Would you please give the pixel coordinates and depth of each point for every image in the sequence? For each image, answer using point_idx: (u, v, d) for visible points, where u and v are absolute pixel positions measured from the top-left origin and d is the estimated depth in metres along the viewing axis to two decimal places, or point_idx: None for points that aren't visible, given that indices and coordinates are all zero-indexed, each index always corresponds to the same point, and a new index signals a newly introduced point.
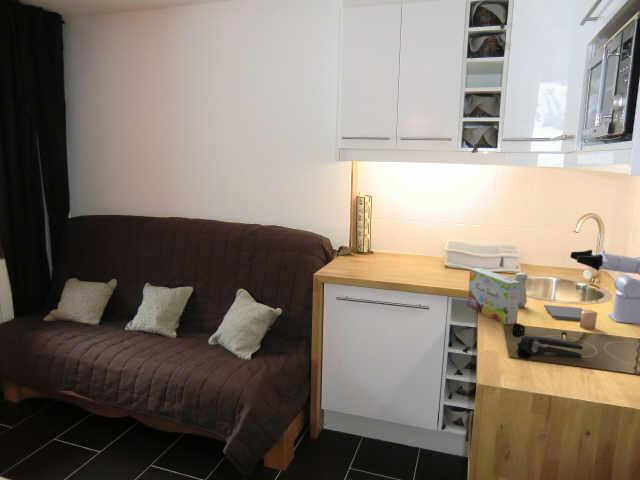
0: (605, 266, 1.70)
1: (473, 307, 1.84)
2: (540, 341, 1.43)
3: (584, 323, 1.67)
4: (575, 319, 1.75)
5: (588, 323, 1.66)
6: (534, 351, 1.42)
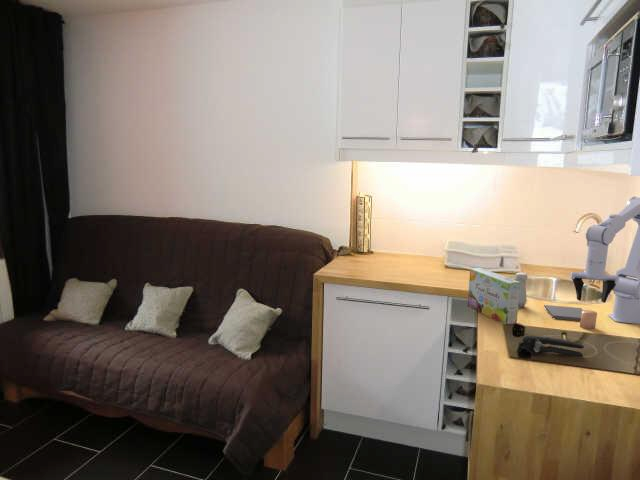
0: None
1: (473, 307, 1.84)
2: (542, 341, 1.43)
3: (584, 323, 1.67)
4: (575, 319, 1.75)
5: (588, 323, 1.66)
6: (536, 351, 1.42)
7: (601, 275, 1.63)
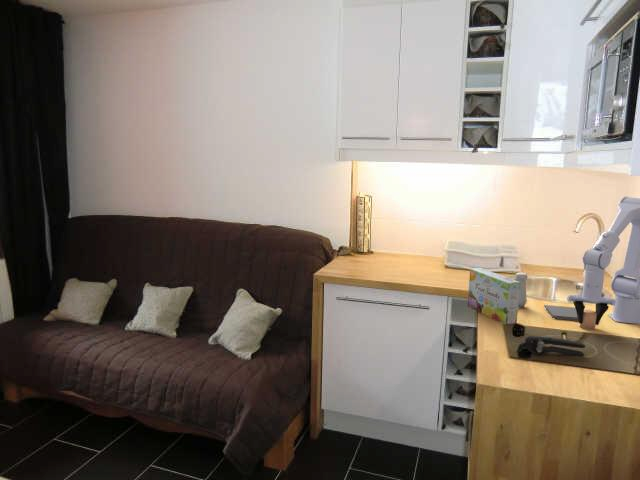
0: None
1: (473, 307, 1.84)
2: (544, 341, 1.43)
3: (584, 323, 1.67)
4: (575, 319, 1.75)
5: (588, 323, 1.66)
6: (539, 351, 1.42)
7: (598, 298, 1.64)
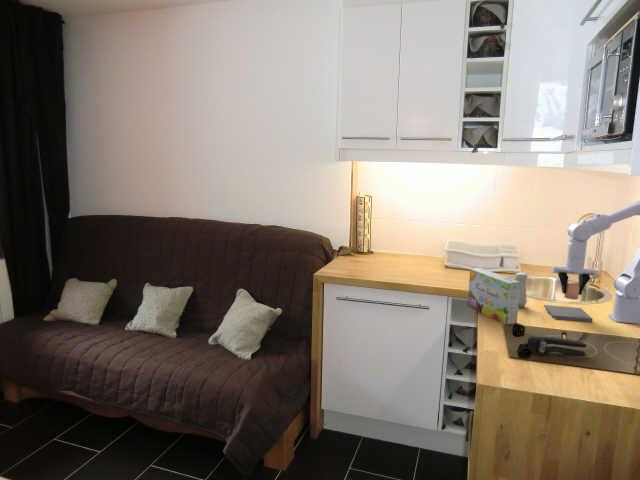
0: None
1: (473, 307, 1.84)
2: (547, 341, 1.43)
3: (568, 293, 1.78)
4: (575, 319, 1.75)
5: (572, 293, 1.77)
6: (541, 351, 1.42)
7: (580, 269, 1.75)
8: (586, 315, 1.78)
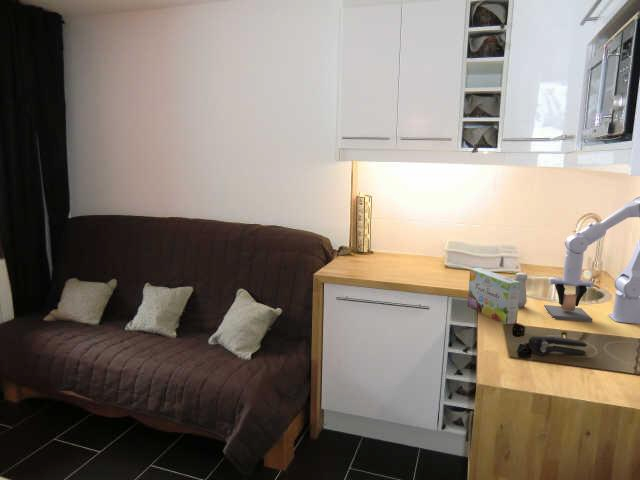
0: None
1: (473, 307, 1.84)
2: (548, 341, 1.43)
3: (565, 305, 1.80)
4: (575, 319, 1.75)
5: (569, 304, 1.79)
6: (543, 351, 1.42)
7: (577, 281, 1.77)
8: (586, 315, 1.78)
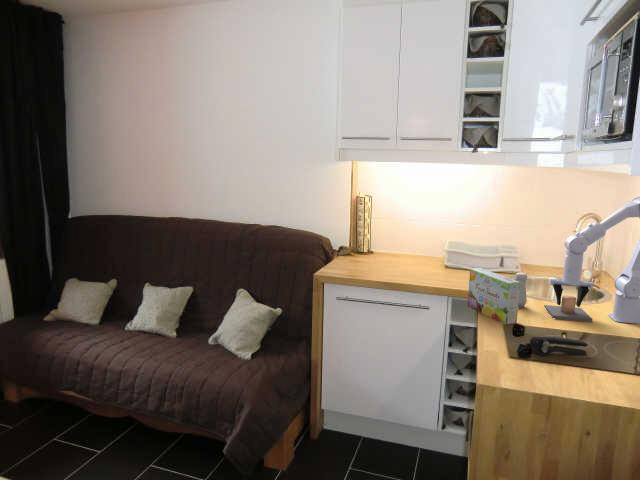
0: None
1: (473, 307, 1.84)
2: (549, 341, 1.43)
3: (565, 307, 1.80)
4: (575, 319, 1.75)
5: (568, 307, 1.79)
6: (544, 351, 1.42)
7: (577, 282, 1.77)
8: (586, 315, 1.78)
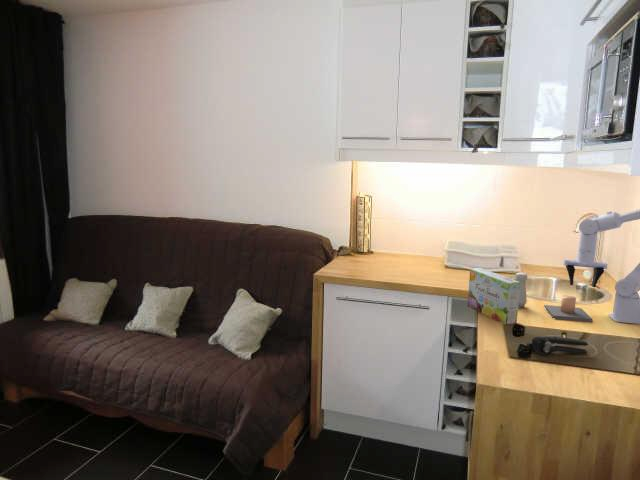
0: None
1: (473, 307, 1.84)
2: (551, 341, 1.43)
3: (565, 307, 1.80)
4: (575, 319, 1.75)
5: (568, 307, 1.79)
6: (546, 351, 1.42)
7: (590, 262, 1.83)
8: (586, 315, 1.78)
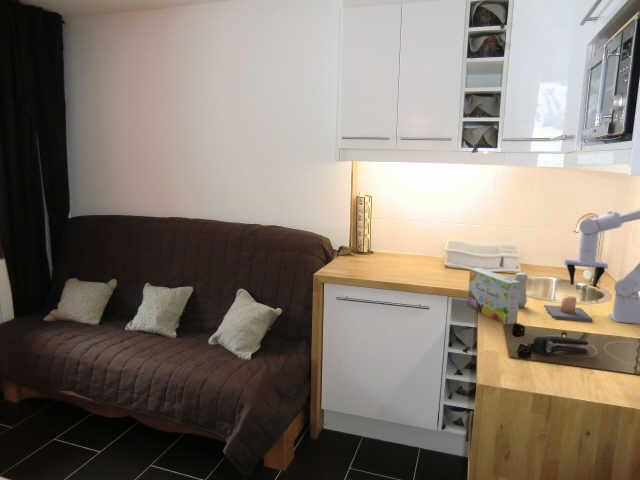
0: None
1: (473, 307, 1.84)
2: (552, 341, 1.44)
3: (565, 307, 1.80)
4: (575, 319, 1.75)
5: (569, 307, 1.79)
6: (548, 351, 1.42)
7: (591, 262, 1.83)
8: (586, 315, 1.78)
